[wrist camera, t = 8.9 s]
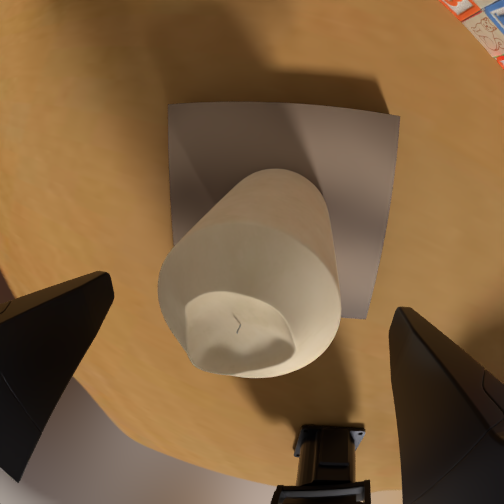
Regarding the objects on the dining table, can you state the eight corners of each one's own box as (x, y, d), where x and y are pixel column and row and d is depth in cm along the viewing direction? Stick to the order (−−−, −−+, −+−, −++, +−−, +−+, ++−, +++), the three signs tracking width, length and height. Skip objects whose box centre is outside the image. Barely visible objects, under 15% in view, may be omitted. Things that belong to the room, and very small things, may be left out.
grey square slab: (362, 301, 20) (365, 319, 18) (189, 282, 22) (178, 297, 20) (390, 116, 15) (400, 116, 13) (182, 104, 17) (168, 104, 15)
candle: (267, 281, 18) (225, 425, 9) (206, 206, 17) (102, 310, 8) (348, 231, 16) (381, 369, 7) (287, 145, 15) (250, 192, 6)
